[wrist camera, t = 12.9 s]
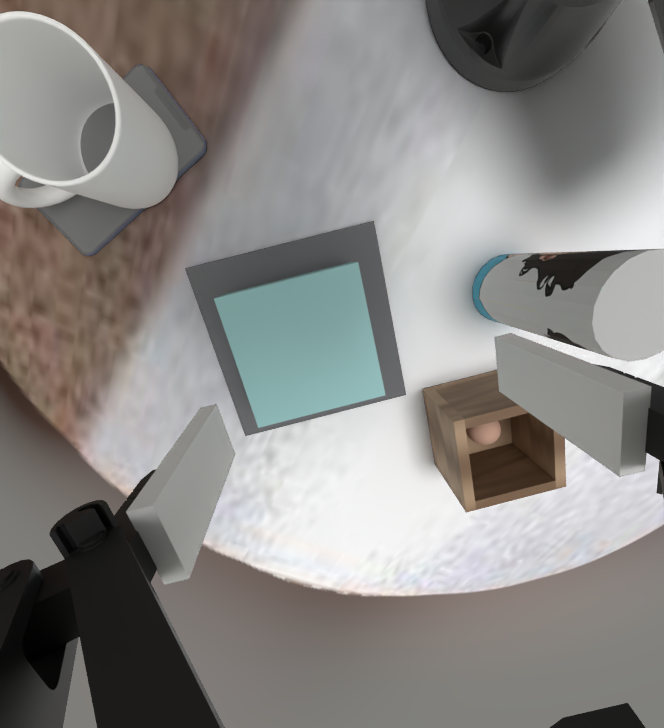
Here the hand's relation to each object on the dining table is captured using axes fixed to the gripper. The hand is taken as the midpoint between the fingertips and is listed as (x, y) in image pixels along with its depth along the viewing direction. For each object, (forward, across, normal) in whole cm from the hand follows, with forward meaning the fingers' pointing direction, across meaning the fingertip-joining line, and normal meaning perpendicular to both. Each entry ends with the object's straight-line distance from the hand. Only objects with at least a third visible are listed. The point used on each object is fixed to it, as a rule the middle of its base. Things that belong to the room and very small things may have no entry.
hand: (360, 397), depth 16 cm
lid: (+19, -3, -1) cm, 19 cm away
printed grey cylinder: (+20, +18, -1) cm, 27 cm away
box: (+20, +13, -15) cm, 28 cm away
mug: (+20, -15, +17) cm, 30 cm away
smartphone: (+20, -15, +17) cm, 30 cm away
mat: (+19, -3, -1) cm, 20 cm away
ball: (+19, +13, -15) cm, 27 cm away
